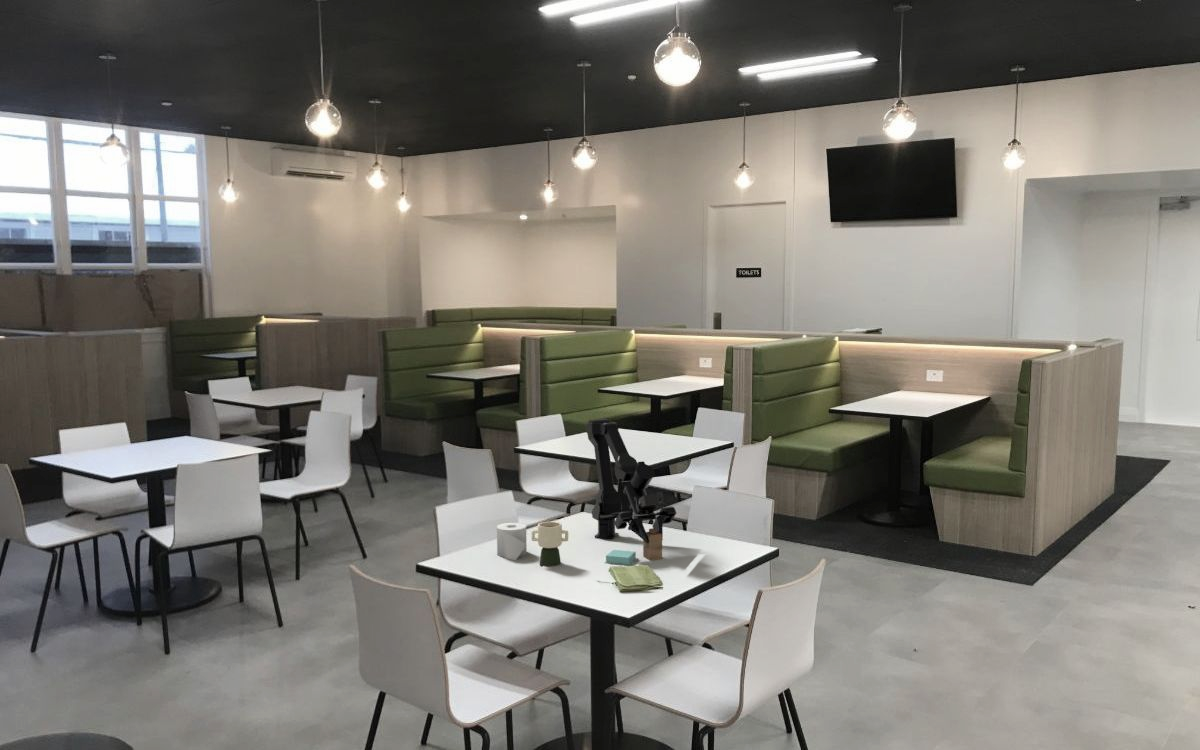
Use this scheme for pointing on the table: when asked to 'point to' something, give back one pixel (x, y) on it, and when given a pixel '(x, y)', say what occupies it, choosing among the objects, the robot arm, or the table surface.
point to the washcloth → (634, 578)
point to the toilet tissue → (511, 540)
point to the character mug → (550, 542)
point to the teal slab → (620, 557)
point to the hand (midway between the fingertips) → (654, 541)
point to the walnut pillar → (653, 545)
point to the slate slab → (624, 564)
